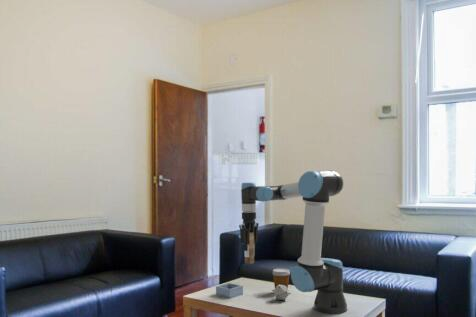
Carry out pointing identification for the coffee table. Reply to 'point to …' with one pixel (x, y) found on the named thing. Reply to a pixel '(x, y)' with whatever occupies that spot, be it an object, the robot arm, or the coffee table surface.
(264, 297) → the coffee table surface
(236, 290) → the light blue square bin
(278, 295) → the game die
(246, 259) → the long wooden beam
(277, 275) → the disposable coffee cup
